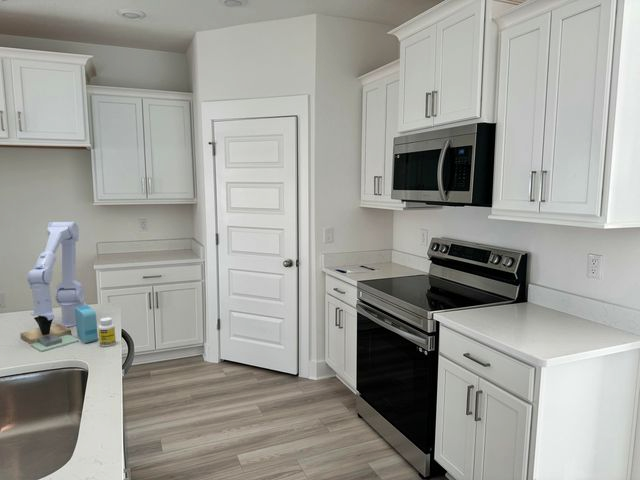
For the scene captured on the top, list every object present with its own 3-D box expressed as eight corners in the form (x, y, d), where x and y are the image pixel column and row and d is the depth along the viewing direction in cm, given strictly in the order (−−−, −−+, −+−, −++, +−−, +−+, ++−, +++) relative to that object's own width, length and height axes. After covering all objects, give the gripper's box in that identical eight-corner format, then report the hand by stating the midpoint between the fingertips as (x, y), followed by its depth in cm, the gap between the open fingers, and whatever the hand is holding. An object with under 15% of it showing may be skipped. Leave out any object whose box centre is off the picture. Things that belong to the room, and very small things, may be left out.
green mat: (68, 335, 175) (67, 334, 175) (79, 341, 168) (79, 340, 168) (30, 345, 165) (30, 344, 165) (41, 352, 158) (41, 350, 158)
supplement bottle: (100, 347, 162) (97, 322, 161) (99, 343, 167) (97, 318, 165) (116, 345, 164) (114, 319, 163) (115, 340, 169) (113, 315, 168)
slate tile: (53, 337, 171) (53, 334, 171) (62, 342, 166) (61, 338, 166) (37, 342, 167) (37, 338, 167) (46, 346, 162) (45, 343, 162)
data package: (98, 341, 169) (95, 310, 167) (85, 344, 166) (82, 313, 164) (89, 333, 178) (86, 304, 176) (77, 336, 175) (74, 306, 173)
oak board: (59, 328, 184) (58, 323, 183) (71, 334, 176) (71, 329, 176) (20, 338, 173) (20, 333, 173) (31, 345, 165) (31, 339, 165)
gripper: (23, 299, 169) (27, 333, 170) (37, 305, 160) (41, 341, 161) (43, 295, 174) (47, 328, 176) (58, 301, 165) (62, 336, 167)
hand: (45, 334), depth 169 cm, fingers closed
